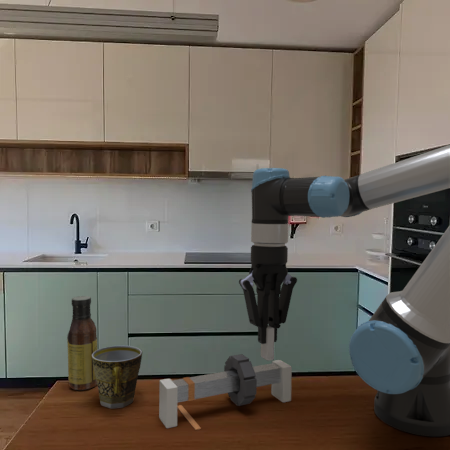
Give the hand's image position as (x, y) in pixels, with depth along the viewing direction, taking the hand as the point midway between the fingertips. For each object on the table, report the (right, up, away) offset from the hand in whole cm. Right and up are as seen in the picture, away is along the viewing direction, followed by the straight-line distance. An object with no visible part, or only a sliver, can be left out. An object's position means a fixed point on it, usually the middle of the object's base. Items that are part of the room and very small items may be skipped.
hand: (267, 358), depth 88 cm
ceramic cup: (-30, -9, -2) cm, 32 cm away
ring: (-6, -9, -3) cm, 11 cm away
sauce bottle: (-40, -8, +6) cm, 42 cm away
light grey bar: (-8, -5, -4) cm, 10 cm away
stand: (-8, -9, -4) cm, 13 cm away
